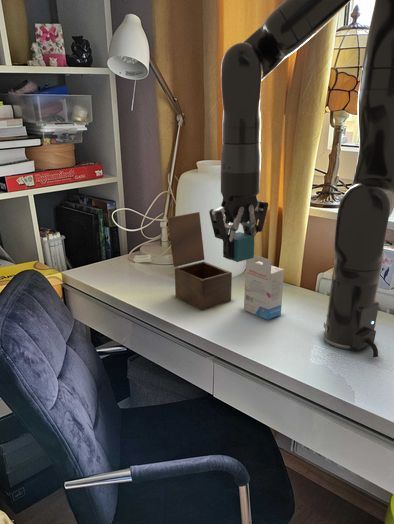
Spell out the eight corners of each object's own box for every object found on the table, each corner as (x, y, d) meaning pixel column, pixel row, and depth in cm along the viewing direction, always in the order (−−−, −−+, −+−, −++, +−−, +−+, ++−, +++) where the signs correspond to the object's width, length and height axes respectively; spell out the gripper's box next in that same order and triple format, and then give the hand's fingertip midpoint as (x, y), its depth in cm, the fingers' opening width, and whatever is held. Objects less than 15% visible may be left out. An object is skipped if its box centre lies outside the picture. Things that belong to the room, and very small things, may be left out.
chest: (231, 301, 124) (231, 272, 120) (202, 310, 119) (201, 280, 115) (203, 288, 132) (203, 261, 129) (175, 296, 127) (174, 268, 123)
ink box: (281, 315, 116) (286, 256, 109) (267, 320, 113) (271, 260, 106) (256, 304, 122) (260, 248, 115) (242, 309, 119) (245, 252, 112)
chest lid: (199, 212, 124) (197, 212, 124) (168, 217, 119) (167, 217, 119) (204, 259, 128) (202, 259, 129) (175, 267, 123) (173, 266, 124)
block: (253, 257, 98) (254, 236, 96) (237, 262, 96) (237, 240, 94) (239, 253, 101) (239, 231, 99) (223, 257, 99) (223, 235, 97)
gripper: (224, 174, 84) (223, 267, 92) (281, 166, 92) (276, 253, 100) (198, 170, 89) (200, 258, 97) (254, 163, 97) (251, 246, 105)
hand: (238, 255), depth 98 cm, fingers closed on block, 4 cm apart
